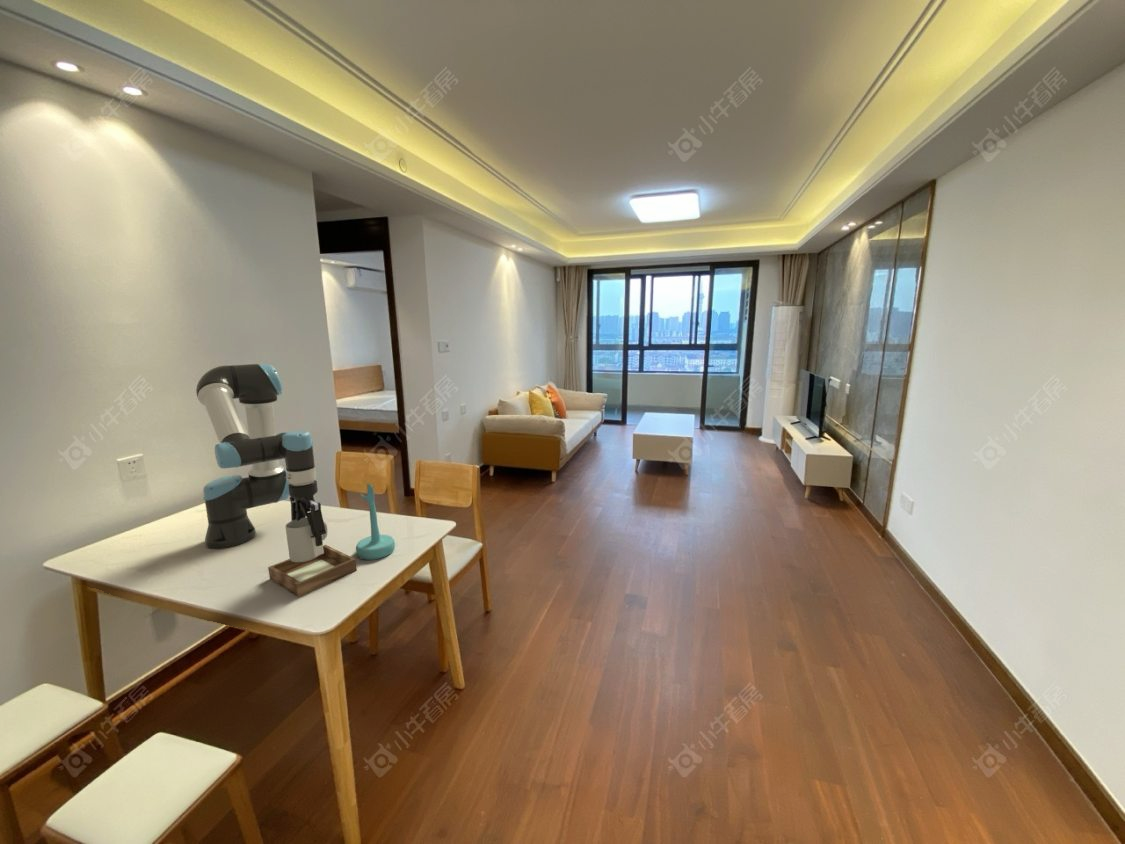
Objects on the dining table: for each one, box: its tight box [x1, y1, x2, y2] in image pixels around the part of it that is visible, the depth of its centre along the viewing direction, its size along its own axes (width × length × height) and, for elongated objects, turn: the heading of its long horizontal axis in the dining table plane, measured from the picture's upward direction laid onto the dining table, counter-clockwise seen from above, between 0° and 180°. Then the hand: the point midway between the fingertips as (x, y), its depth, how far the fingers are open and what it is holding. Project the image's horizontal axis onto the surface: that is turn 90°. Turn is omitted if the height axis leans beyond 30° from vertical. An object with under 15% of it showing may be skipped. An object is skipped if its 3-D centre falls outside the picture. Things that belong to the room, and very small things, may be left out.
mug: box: [285, 517, 329, 562], centre depth 139 cm, size 12×8×11 cm
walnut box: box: [267, 544, 358, 598], centre depth 141 cm, size 18×18×4 cm
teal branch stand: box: [355, 483, 396, 561], centre depth 154 cm, size 12×12×25 cm
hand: (311, 550), depth 140 cm, fingers closed on mug, 8 cm apart
